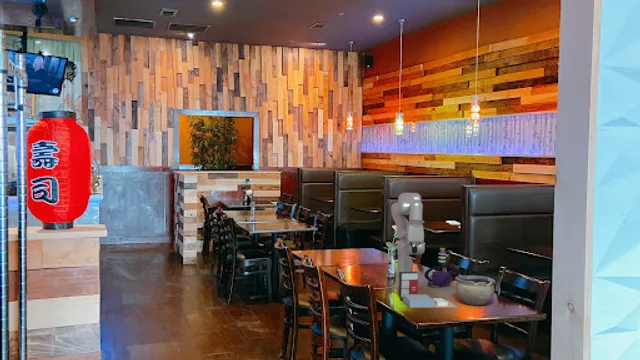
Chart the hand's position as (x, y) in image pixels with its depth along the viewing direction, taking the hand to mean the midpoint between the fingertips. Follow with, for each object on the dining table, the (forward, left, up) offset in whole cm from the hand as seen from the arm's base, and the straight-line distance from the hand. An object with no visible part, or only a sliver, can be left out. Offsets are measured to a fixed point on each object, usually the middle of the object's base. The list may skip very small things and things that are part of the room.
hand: (414, 253), depth 334 cm
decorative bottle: (-32, +29, -27) cm, 51 cm away
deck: (+14, -1, -27) cm, 30 cm away
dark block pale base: (-3, -2, -27) cm, 28 cm away
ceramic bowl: (+13, +33, -27) cm, 45 cm away
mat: (+14, +13, -27) cm, 33 cm away
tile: (+14, +12, -25) cm, 31 cm away
